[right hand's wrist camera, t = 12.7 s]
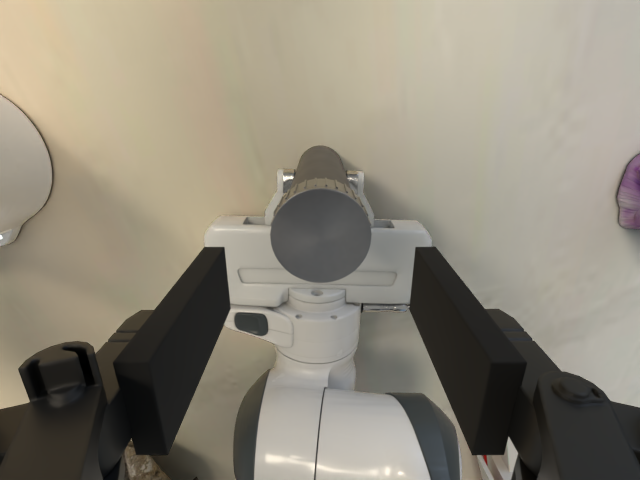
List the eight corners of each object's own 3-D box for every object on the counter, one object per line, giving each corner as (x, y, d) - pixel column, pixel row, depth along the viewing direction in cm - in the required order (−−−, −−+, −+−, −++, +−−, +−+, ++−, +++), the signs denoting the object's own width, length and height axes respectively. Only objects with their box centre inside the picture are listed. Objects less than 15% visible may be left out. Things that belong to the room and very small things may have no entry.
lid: (385, 206, 20) (393, 219, 18) (336, 279, 22) (338, 300, 20) (302, 158, 19) (300, 166, 17) (258, 238, 21) (251, 255, 19)
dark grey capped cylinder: (350, 159, 37) (381, 219, 18) (328, 196, 39) (335, 287, 20) (312, 137, 36) (303, 175, 18) (290, 175, 38) (262, 249, 19)
